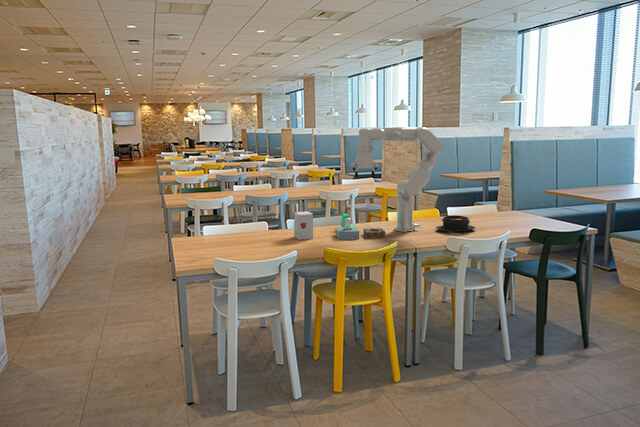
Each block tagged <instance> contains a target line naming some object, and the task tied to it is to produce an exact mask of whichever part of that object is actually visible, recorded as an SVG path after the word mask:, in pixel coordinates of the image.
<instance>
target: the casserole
mask: <svg viewBox="0 0 640 427" xmlns="http://www.w3.org/2000/svg"><path fill="white" fill-rule="evenodd" d="M441 222H442V225H437V226H436V227H435V228H436V230H439V231H442V232H443V231H445V232H449V231H452V232H451V233H464V232H463V231H465V232H468V231H471V230H475V229H476V227H475V226H474V225H470V222H471V220H470V219H469V217H467V216H465V215H457V214H456V215H453V214H451V215H450V214H449V215H445V216H443V218H442V219H441Z"/></svg>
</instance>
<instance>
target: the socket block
mask: <svg viewBox="0 0 640 427" xmlns="http://www.w3.org/2000/svg"><path fill="white" fill-rule="evenodd" d="M335 230H336V232H335V233H336V237H337V238H338V240H360V230H359V229H358V227H357V226H355V227H350V230H345V227H341V226H339V227H338V226H336V228H335Z"/></svg>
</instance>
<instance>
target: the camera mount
mask: <svg viewBox="0 0 640 427" xmlns="http://www.w3.org/2000/svg"><path fill="white" fill-rule="evenodd" d="M345 218H350V216H349V214H348V213H342V214H341V221H340V227H345ZM351 227H356V225H355V224H354V223H351Z"/></svg>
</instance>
